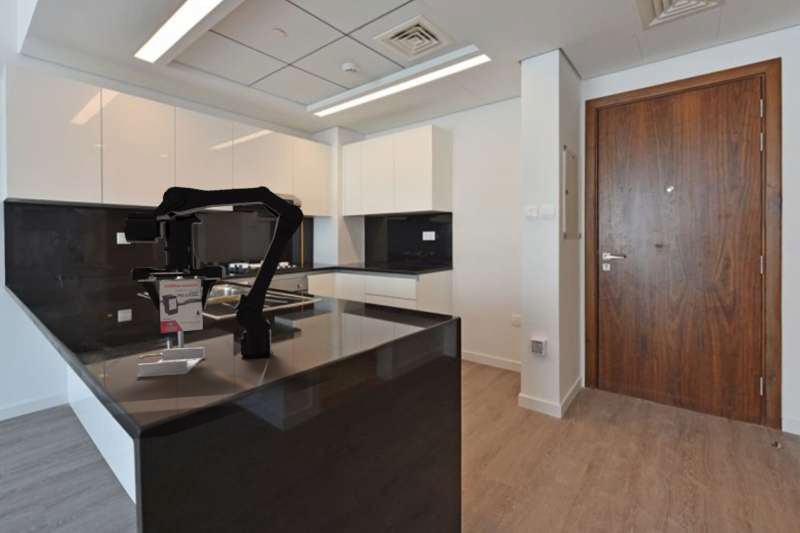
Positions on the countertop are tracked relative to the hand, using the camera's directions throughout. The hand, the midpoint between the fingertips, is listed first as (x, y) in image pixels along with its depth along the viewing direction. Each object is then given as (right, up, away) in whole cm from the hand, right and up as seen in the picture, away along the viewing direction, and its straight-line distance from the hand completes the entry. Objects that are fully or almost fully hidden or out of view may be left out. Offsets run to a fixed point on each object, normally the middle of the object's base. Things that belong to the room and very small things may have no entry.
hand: (181, 309), depth 91 cm
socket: (0, -12, -3) cm, 13 cm away
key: (-11, -12, +6) cm, 18 cm away
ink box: (0, -5, 0) cm, 5 cm away
